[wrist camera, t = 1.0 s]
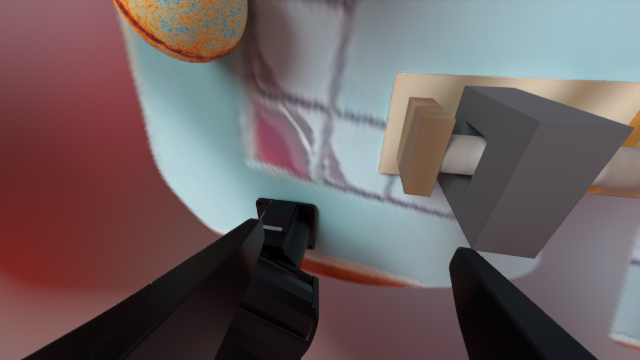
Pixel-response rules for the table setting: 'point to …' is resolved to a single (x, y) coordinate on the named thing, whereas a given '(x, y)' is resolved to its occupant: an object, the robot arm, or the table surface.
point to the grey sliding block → (525, 167)
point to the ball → (187, 26)
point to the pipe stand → (465, 151)
